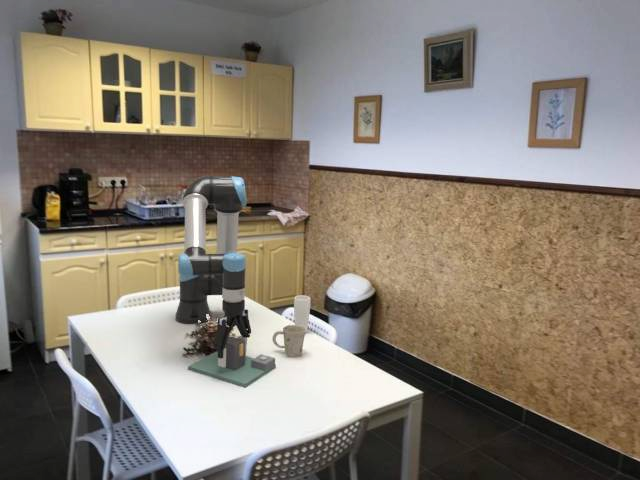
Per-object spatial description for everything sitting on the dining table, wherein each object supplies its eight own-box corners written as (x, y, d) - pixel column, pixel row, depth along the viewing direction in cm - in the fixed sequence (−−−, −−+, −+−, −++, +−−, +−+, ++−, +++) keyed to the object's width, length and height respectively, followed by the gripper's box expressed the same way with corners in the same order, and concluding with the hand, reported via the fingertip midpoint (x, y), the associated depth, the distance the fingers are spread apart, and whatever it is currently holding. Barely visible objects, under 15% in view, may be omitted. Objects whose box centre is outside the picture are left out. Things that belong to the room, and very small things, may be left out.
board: (188, 369, 176) (188, 357, 176) (221, 352, 192) (221, 341, 191) (245, 387, 165) (245, 375, 165) (275, 367, 181) (276, 356, 180)
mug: (301, 359, 189) (302, 333, 187) (268, 355, 191) (269, 329, 189) (306, 351, 197) (307, 326, 195) (274, 347, 199) (275, 322, 197)
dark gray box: (219, 365, 177) (219, 341, 176) (229, 360, 182) (230, 336, 181) (236, 371, 174) (237, 345, 173) (246, 365, 179) (246, 340, 177)
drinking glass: (308, 335, 213) (310, 300, 210) (292, 334, 213) (293, 299, 210) (309, 329, 219) (311, 295, 217) (293, 328, 220) (294, 294, 217)
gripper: (220, 310, 162) (219, 375, 166) (262, 293, 183) (260, 351, 187) (201, 305, 166) (201, 369, 170) (245, 289, 186) (243, 347, 190)
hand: (232, 360), depth 178 cm, fingers open, 11 cm apart
